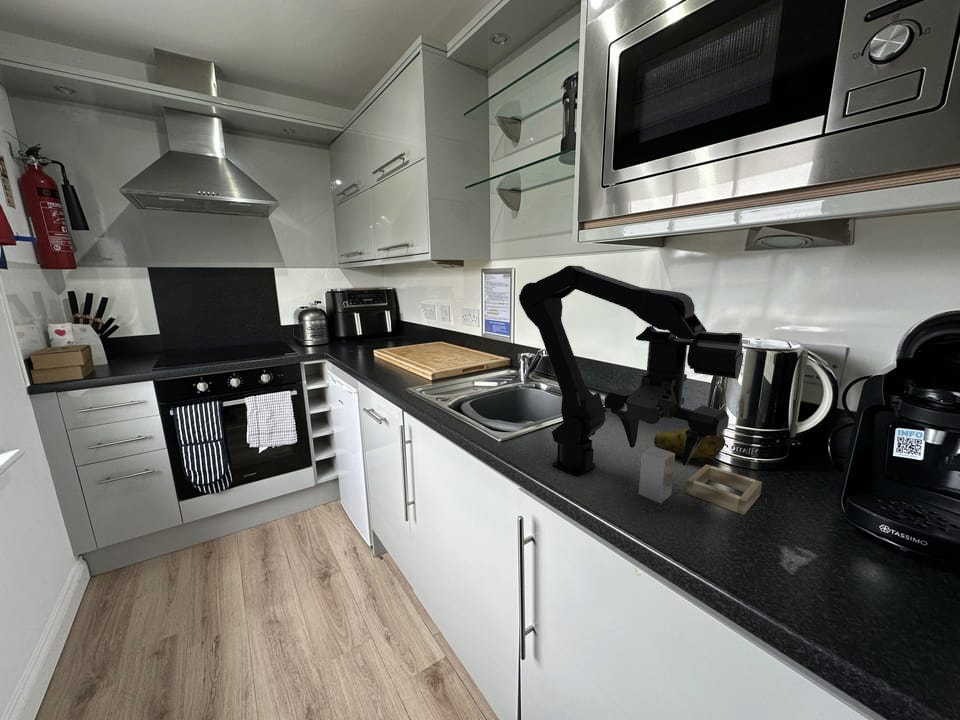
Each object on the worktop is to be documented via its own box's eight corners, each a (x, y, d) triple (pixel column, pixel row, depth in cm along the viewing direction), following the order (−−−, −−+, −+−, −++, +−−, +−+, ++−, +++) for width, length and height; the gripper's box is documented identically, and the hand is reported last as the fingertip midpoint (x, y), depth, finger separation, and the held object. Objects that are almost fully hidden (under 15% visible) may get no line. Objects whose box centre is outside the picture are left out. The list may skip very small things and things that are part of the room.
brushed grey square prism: (638, 494, 69) (641, 452, 67) (649, 486, 72) (652, 446, 70) (660, 503, 66) (664, 460, 64) (671, 494, 69) (675, 453, 67)
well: (685, 493, 69) (687, 480, 69) (705, 476, 75) (706, 464, 74) (744, 515, 62) (745, 501, 62) (760, 494, 68) (762, 482, 68)
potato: (673, 443, 90) (676, 410, 88) (729, 466, 79) (733, 429, 77) (648, 450, 86) (651, 416, 85) (702, 475, 75) (707, 437, 73)
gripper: (589, 367, 66) (585, 451, 69) (708, 390, 52) (696, 494, 55) (623, 358, 73) (617, 435, 76) (735, 376, 59) (723, 469, 62)
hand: (657, 455), depth 67 cm, fingers open, 9 cm apart
